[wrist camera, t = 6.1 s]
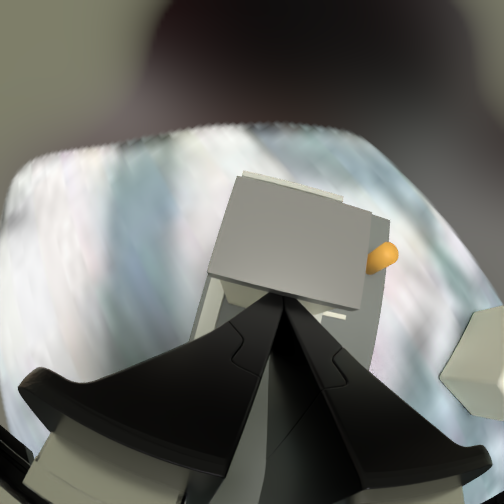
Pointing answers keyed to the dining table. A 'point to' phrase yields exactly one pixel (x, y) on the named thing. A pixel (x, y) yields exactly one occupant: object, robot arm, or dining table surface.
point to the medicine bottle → (479, 365)
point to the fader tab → (291, 248)
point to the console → (220, 311)
